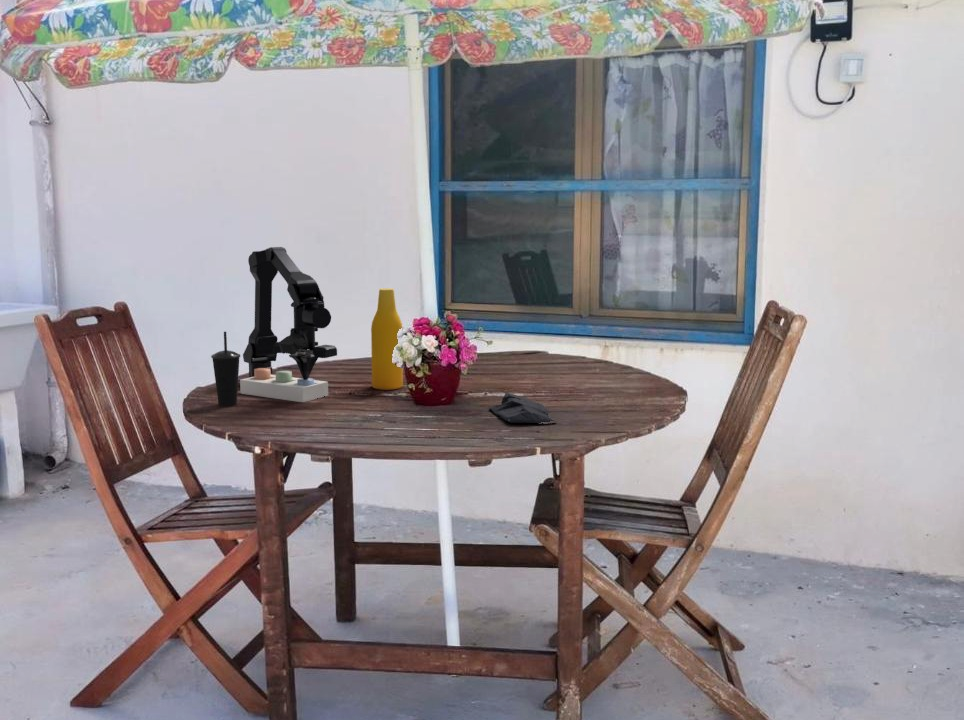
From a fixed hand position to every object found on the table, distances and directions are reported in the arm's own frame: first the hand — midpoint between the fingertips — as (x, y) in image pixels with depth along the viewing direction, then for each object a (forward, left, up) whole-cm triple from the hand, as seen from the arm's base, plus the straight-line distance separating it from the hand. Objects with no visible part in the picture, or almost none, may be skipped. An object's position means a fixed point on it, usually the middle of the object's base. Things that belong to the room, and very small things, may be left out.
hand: (305, 379), depth 300 cm
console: (-8, 0, -5) cm, 9 cm away
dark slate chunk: (+63, +12, -6) cm, 64 cm away
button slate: (0, 0, -5) cm, 5 cm away
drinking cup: (-12, -19, -5) cm, 23 cm away
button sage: (-8, 0, -4) cm, 9 cm away
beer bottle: (+10, +25, -5) cm, 27 cm away
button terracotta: (-16, 0, -4) cm, 16 cm away
